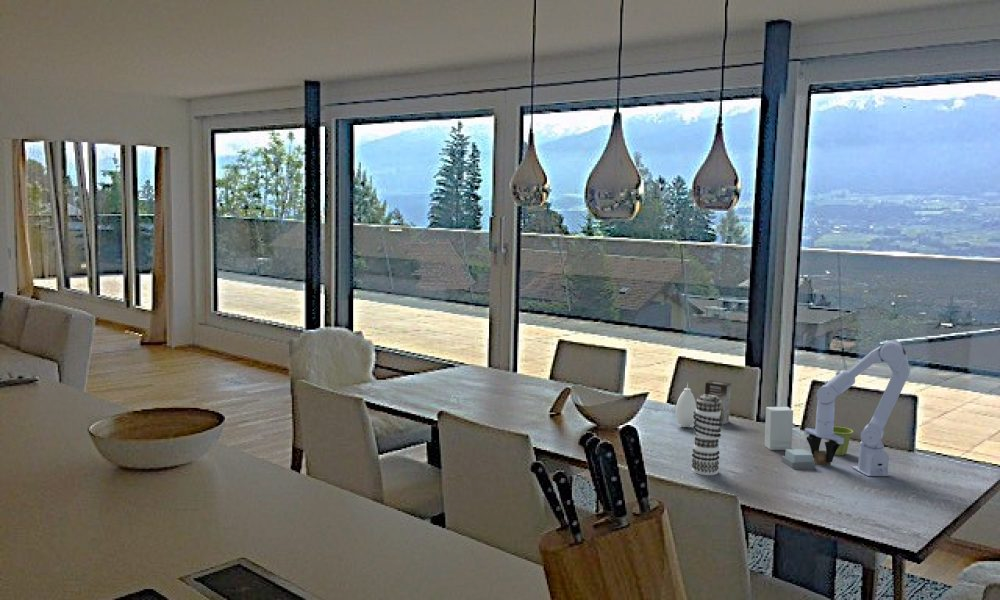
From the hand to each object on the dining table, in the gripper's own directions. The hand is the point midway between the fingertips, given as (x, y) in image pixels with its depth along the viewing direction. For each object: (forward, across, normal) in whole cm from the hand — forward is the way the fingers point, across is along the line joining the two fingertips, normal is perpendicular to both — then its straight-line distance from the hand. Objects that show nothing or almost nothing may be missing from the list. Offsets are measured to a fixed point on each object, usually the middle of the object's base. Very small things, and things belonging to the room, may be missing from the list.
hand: (822, 459), depth 287 cm
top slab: (0, +2, +9) cm, 9 cm away
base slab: (+2, +3, +9) cm, 9 cm away
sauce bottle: (+2, +57, +9) cm, 58 cm away
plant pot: (+2, +6, -16) cm, 17 cm away
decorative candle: (+2, +11, +43) cm, 45 cm away
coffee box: (+2, +59, -9) cm, 60 cm away
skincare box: (+2, +20, -1) cm, 20 cm away
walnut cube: (+1, 0, 0) cm, 1 cm away
